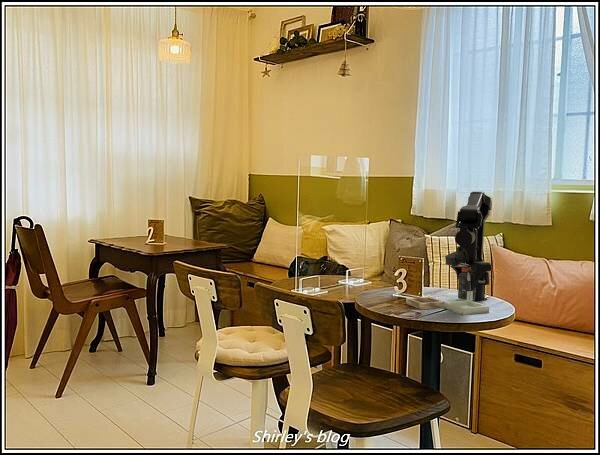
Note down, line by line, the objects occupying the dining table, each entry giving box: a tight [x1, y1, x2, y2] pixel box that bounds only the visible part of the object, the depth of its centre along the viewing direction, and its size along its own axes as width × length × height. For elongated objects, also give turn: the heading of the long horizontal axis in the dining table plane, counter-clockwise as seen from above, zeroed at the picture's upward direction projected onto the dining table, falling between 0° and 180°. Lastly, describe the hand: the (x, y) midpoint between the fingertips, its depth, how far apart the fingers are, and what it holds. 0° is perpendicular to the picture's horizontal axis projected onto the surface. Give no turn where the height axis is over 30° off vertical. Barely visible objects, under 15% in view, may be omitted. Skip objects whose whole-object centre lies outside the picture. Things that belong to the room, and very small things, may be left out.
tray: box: [443, 300, 490, 316], centre depth 206 cm, size 11×11×2 cm
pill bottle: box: [457, 267, 476, 301], centre depth 205 cm, size 6×6×11 cm
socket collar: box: [405, 296, 445, 310], centre depth 213 cm, size 10×10×2 cm
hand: (467, 287), depth 206 cm, fingers closed on pill bottle, 6 cm apart
